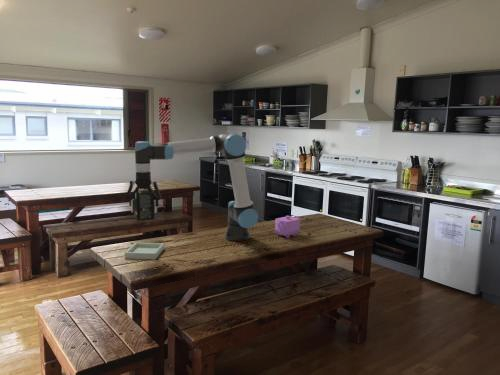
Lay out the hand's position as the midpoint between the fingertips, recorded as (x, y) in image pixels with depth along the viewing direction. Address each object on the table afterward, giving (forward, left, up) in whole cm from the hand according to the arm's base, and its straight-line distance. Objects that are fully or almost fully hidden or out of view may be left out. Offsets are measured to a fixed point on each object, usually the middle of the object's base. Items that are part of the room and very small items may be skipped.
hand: (144, 212), depth 225 cm
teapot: (-79, -45, -23) cm, 94 cm away
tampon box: (0, 0, -3) cm, 3 cm away
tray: (0, 0, -23) cm, 23 cm away
